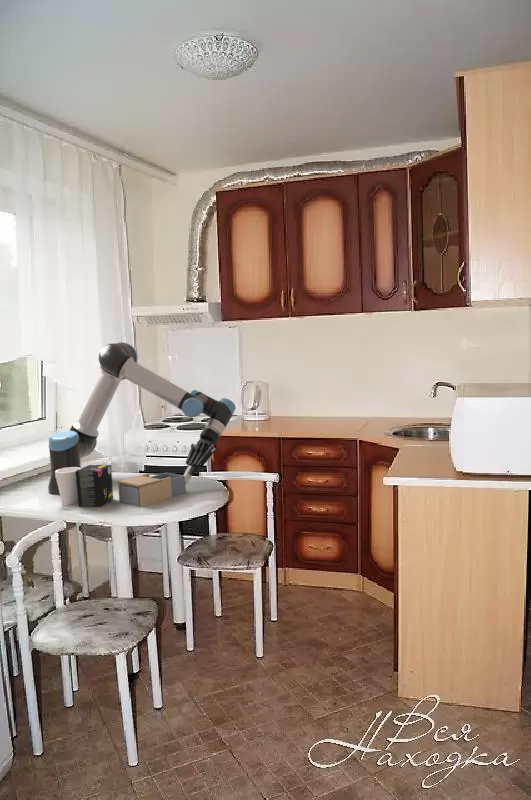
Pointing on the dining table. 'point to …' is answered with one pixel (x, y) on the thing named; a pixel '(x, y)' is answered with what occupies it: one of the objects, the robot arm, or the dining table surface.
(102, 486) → the tampon box
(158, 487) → the mailer sleeve
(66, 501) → the foam cup
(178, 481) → the drawer tray
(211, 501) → the dining table surface
